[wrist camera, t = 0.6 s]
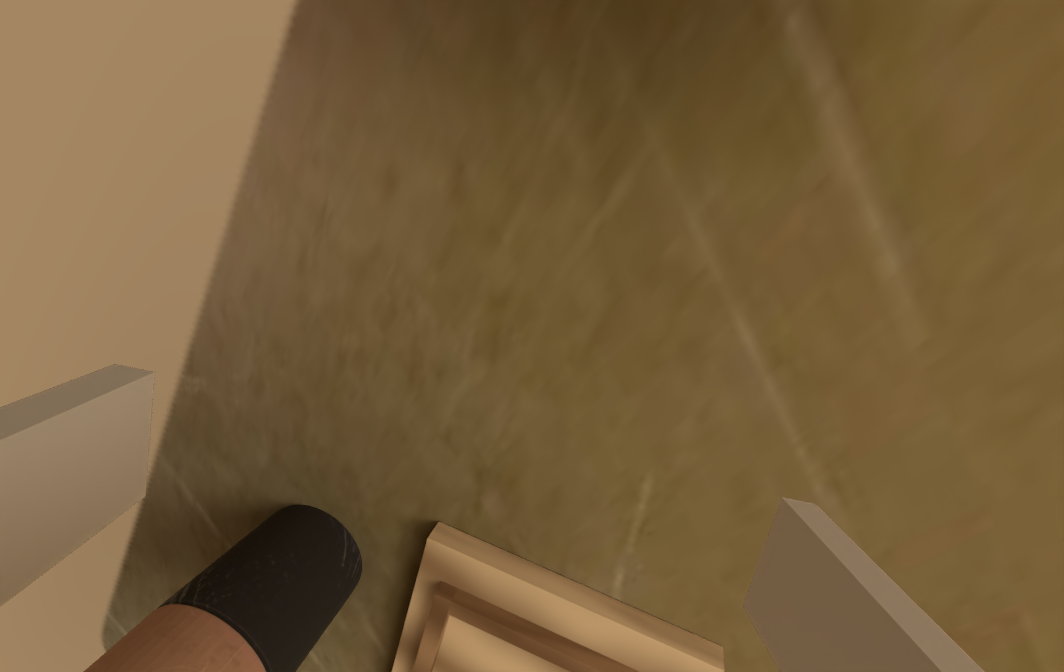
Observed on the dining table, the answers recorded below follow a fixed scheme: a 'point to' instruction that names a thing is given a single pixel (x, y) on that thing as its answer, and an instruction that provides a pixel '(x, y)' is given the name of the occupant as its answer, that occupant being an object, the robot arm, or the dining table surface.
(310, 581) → the travel mug
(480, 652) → the board
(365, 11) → the dining table surface
